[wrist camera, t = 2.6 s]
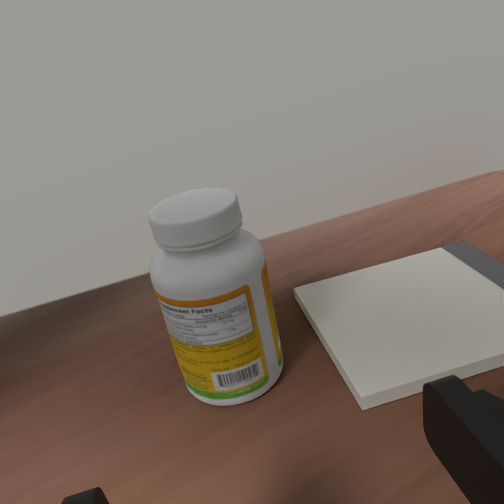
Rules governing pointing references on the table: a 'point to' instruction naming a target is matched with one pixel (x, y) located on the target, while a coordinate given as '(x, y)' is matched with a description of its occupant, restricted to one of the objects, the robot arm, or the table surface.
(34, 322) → the table surface
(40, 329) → the table surface
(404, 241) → the table surface
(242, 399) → the supplement bottle
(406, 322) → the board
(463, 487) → the robot arm
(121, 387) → the table surface
